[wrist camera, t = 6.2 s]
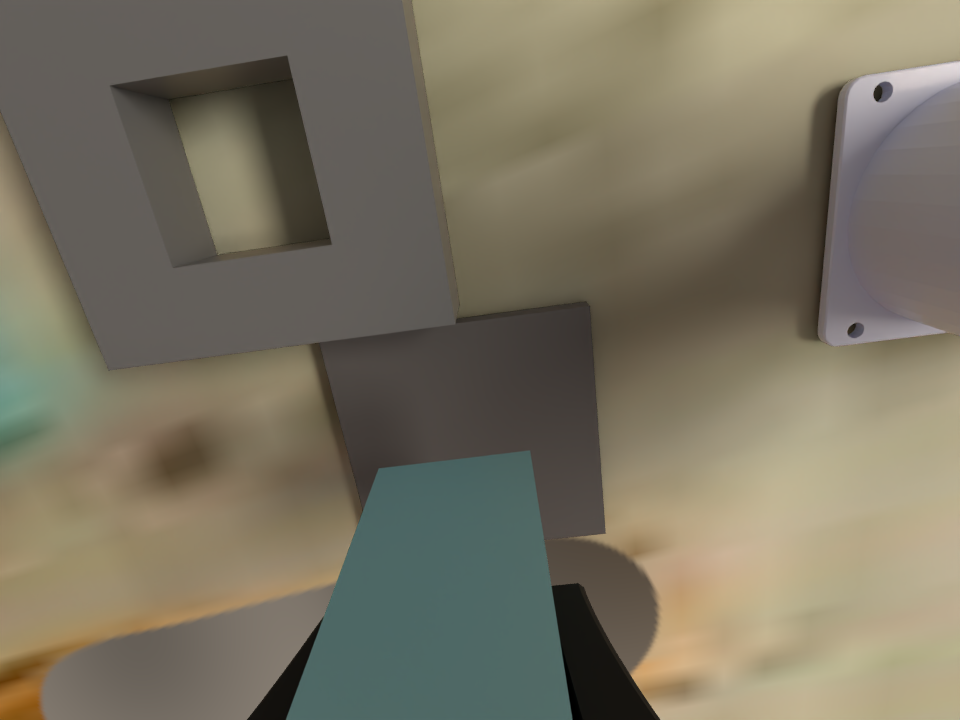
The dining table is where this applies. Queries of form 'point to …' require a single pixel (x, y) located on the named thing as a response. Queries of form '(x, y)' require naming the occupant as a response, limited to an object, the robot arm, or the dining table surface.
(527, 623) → the plug
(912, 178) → the robot arm
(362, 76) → the socket block
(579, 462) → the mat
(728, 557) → the dining table surface
